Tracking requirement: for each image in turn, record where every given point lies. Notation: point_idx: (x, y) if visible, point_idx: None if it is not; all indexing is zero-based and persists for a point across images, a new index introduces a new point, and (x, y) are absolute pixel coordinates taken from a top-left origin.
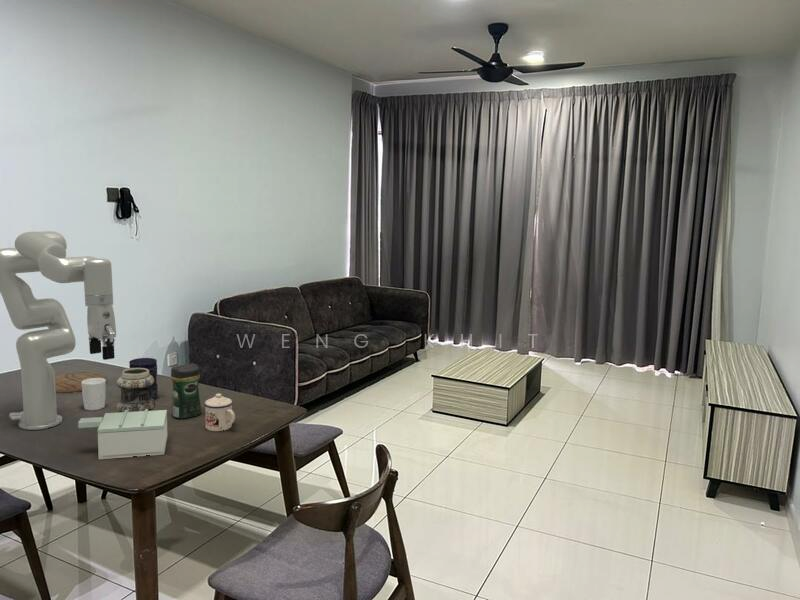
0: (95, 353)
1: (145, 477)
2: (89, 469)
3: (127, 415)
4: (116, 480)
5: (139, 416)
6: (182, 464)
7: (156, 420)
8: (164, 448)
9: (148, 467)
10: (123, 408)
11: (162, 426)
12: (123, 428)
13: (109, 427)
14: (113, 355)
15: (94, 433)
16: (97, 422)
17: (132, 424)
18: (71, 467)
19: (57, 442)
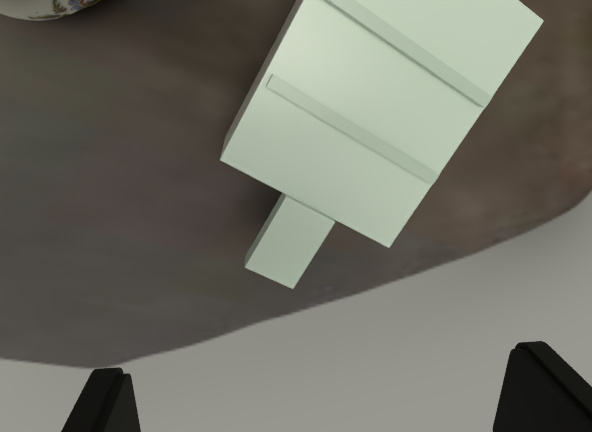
0: (133, 421)
1: (561, 153)
2: (403, 246)
3: (313, 93)
4: (516, 217)
5: (363, 53)
6: (579, 23)
7: (467, 14)
8: None
9: (514, 118)
10: (70, 8)
11: (536, 25)
12: (441, 167)
13: (400, 207)
14: (561, 370)
15: (118, 141)
16: (328, 230)
17: (434, 124)
18: (357, 277)
19: (138, 259)
